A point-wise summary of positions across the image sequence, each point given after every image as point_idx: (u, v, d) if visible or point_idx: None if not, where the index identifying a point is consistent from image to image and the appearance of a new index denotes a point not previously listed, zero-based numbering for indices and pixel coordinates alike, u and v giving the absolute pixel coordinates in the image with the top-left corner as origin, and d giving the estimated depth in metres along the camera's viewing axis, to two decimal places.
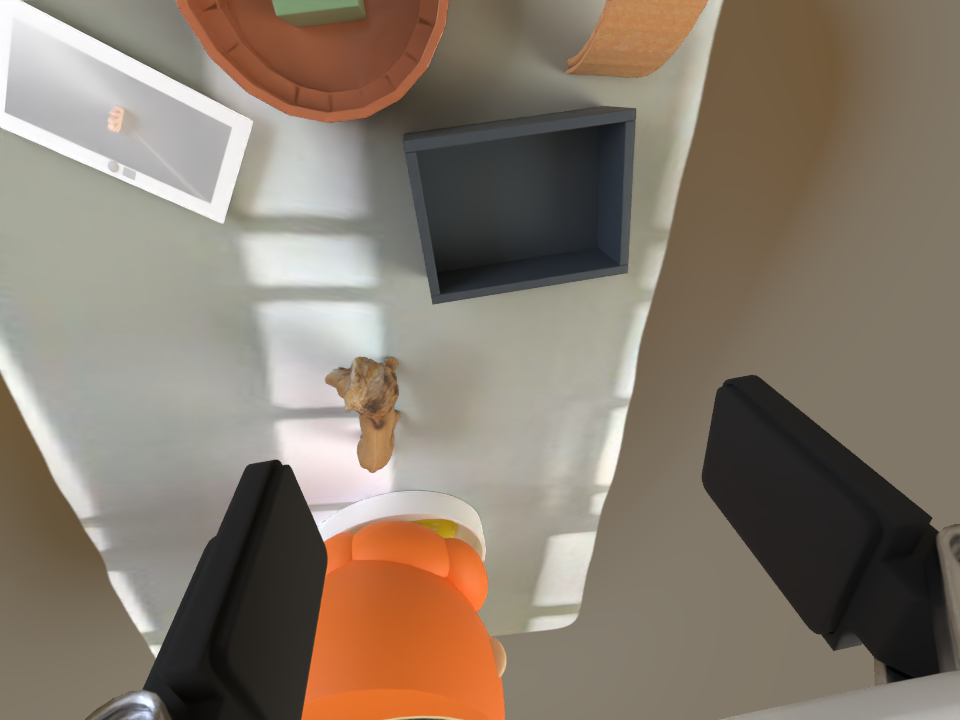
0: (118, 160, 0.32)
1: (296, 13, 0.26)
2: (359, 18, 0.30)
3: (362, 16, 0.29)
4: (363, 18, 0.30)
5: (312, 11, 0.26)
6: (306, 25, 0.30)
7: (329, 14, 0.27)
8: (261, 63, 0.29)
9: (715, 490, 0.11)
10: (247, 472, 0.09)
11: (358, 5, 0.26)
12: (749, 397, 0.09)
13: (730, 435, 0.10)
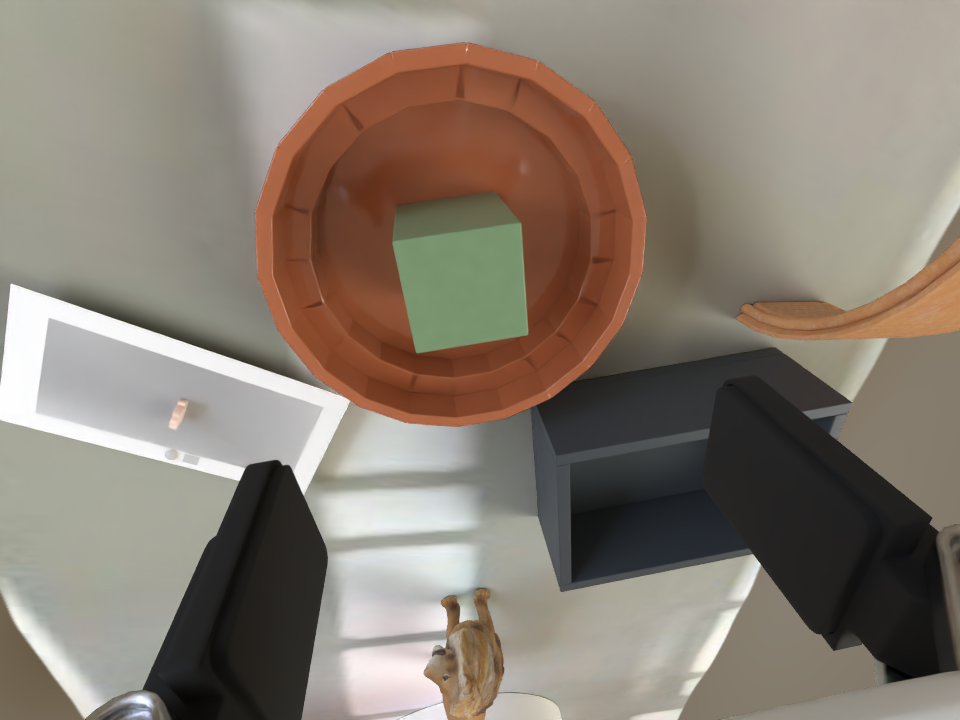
0: (178, 447, 0.25)
1: (443, 348, 0.19)
2: None
3: None
4: None
5: (464, 344, 0.19)
6: None
7: None
8: (372, 355, 0.23)
9: (715, 490, 0.11)
10: (247, 472, 0.09)
11: (526, 334, 0.19)
12: (749, 397, 0.09)
13: (730, 435, 0.10)
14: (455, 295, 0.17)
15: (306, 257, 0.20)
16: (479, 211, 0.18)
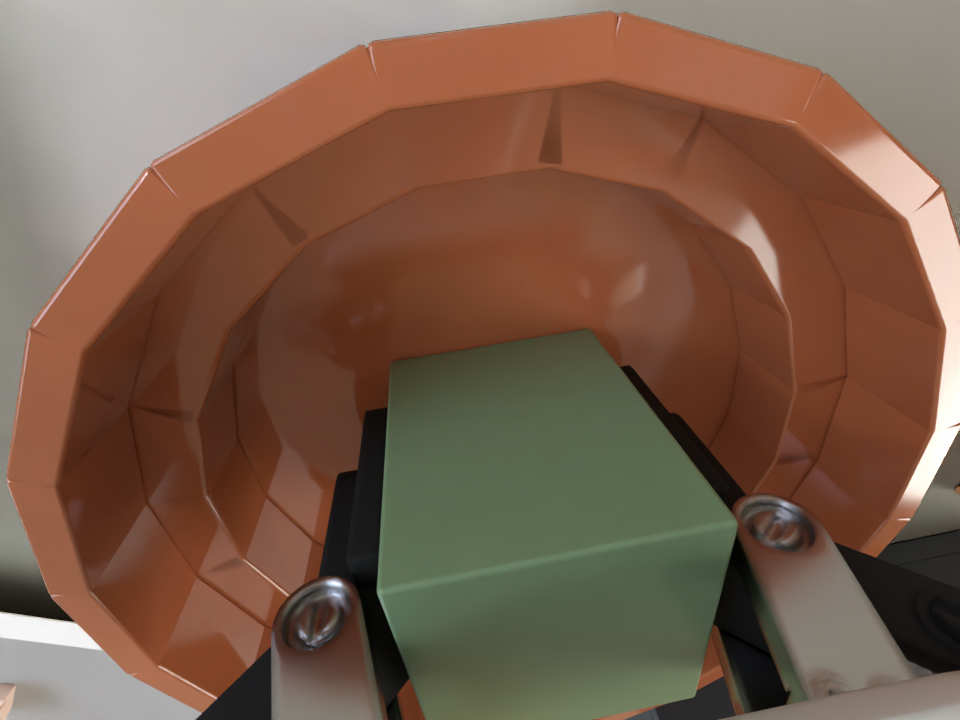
0: None
1: None
2: None
3: None
4: None
5: None
6: None
7: None
8: None
9: None
10: (368, 416, 0.10)
11: None
12: None
13: None
14: (540, 664, 0.07)
15: (197, 493, 0.09)
16: (586, 423, 0.08)
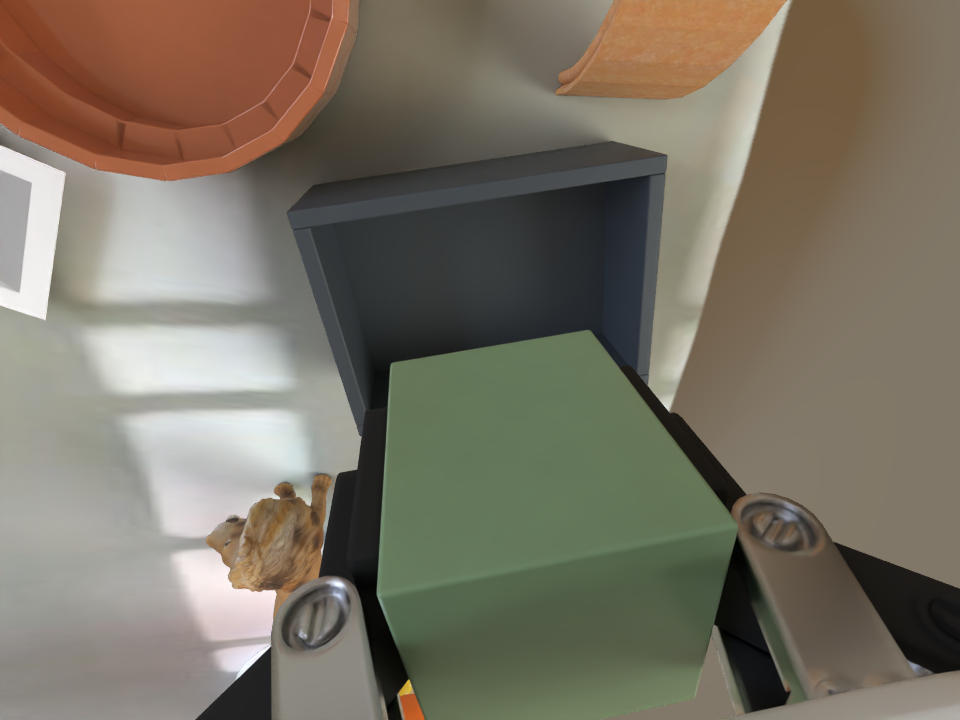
0: None
1: None
2: None
3: None
4: None
5: None
6: None
7: None
8: (52, 85, 0.18)
9: None
10: (368, 416, 0.10)
11: None
12: None
13: None
14: (540, 665, 0.07)
15: None
16: (586, 424, 0.08)
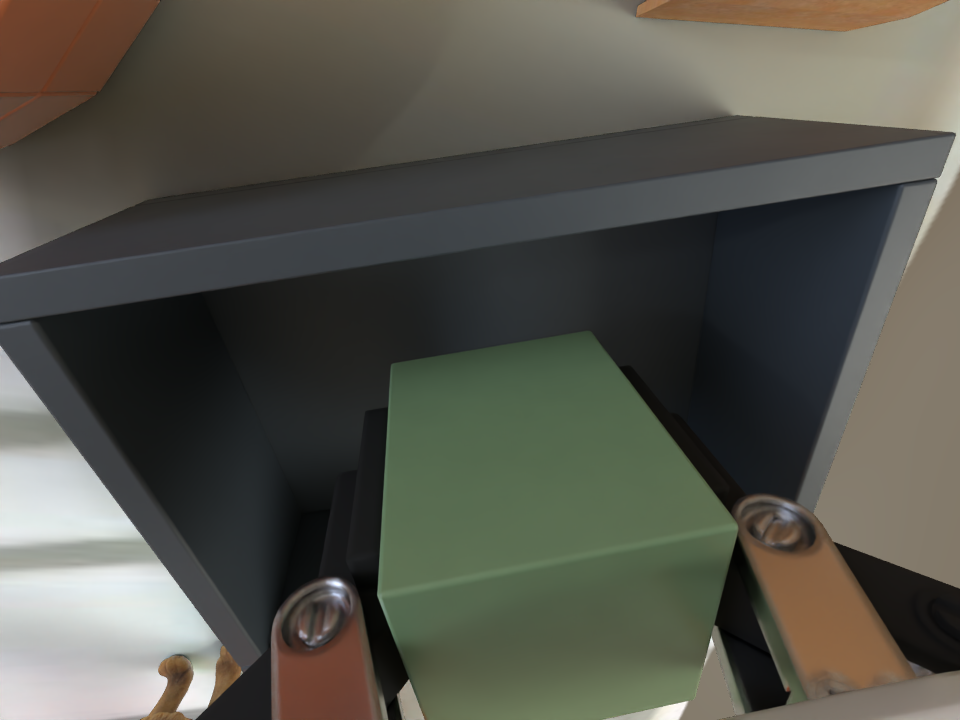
0: None
1: None
2: None
3: None
4: None
5: None
6: None
7: None
8: None
9: None
10: (368, 416, 0.10)
11: None
12: None
13: None
14: (540, 667, 0.07)
15: None
16: (586, 425, 0.08)
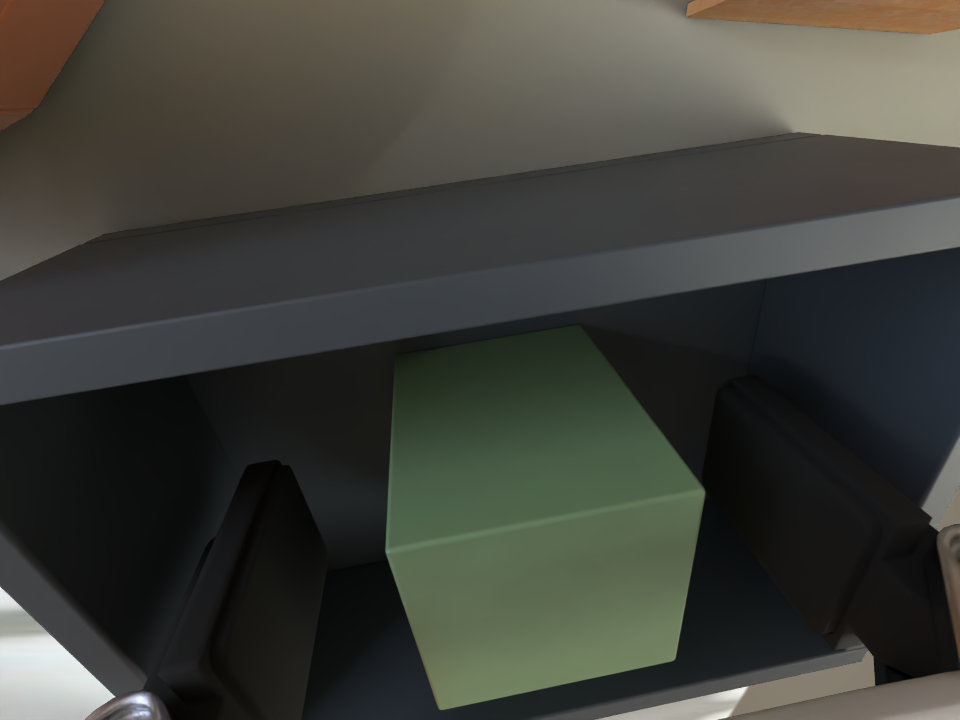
0: None
1: None
2: None
3: None
4: None
5: None
6: None
7: None
8: None
9: (715, 490, 0.11)
10: (247, 472, 0.09)
11: (671, 657, 0.09)
12: (749, 397, 0.09)
13: (730, 435, 0.10)
14: (530, 623, 0.08)
15: None
16: (574, 408, 0.09)
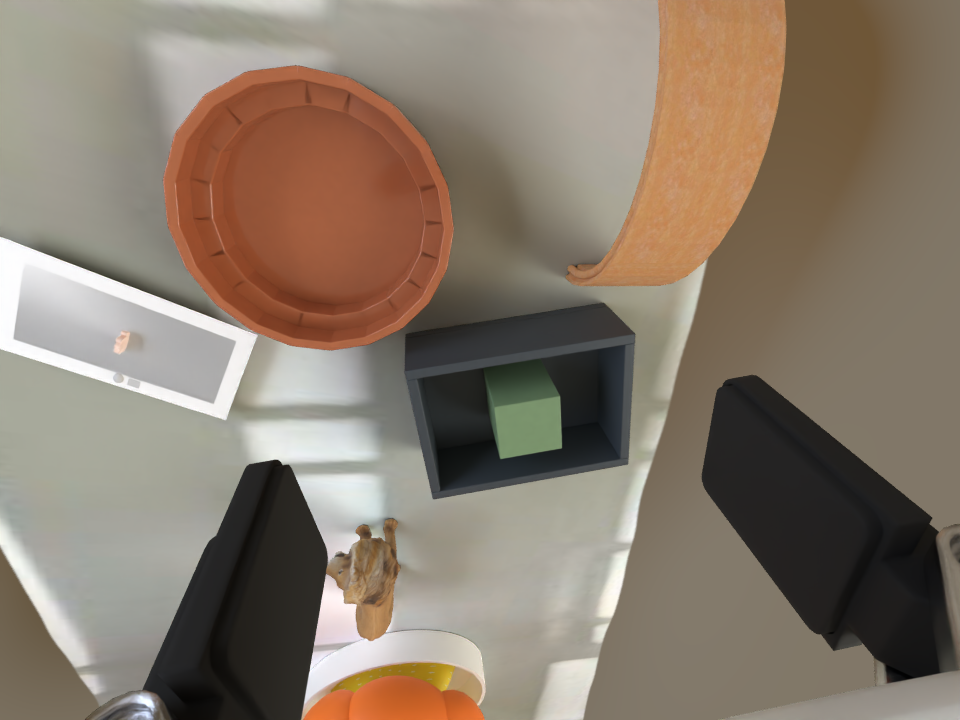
0: (124, 372, 0.32)
1: (514, 455, 0.34)
2: None
3: None
4: None
5: (526, 453, 0.34)
6: None
7: None
8: (266, 295, 0.30)
9: (715, 490, 0.11)
10: (247, 472, 0.09)
11: (561, 447, 0.34)
12: (749, 397, 0.09)
13: (730, 435, 0.10)
14: (523, 430, 0.33)
15: (209, 216, 0.27)
16: (535, 381, 0.34)
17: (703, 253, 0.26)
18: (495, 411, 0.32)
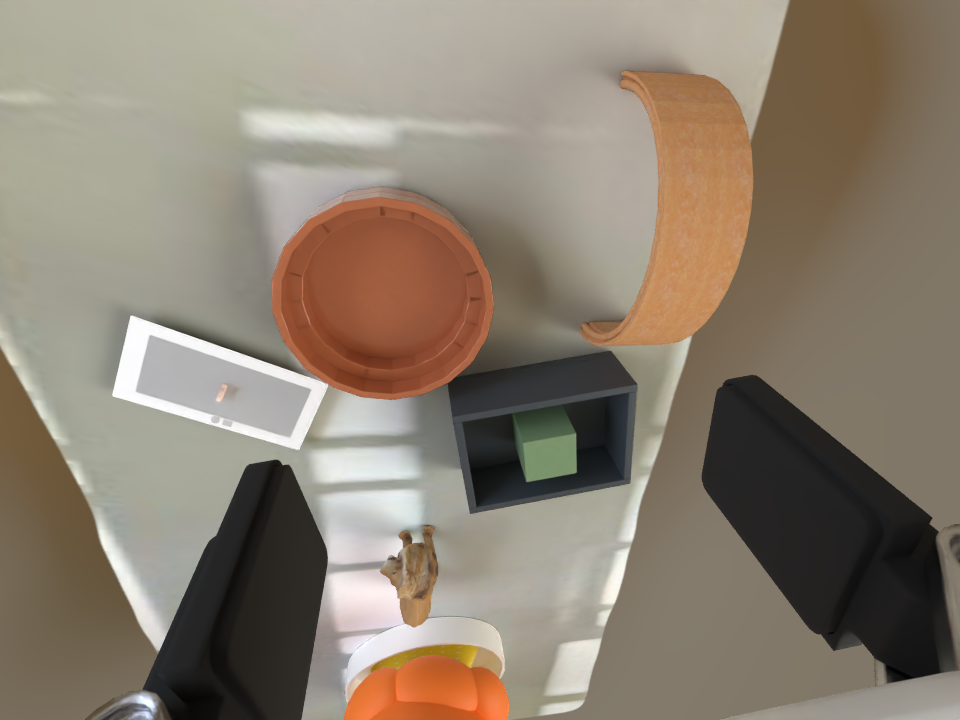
0: (220, 415, 0.40)
1: (538, 479, 0.41)
2: None
3: None
4: None
5: (547, 477, 0.41)
6: None
7: None
8: (340, 356, 0.37)
9: (716, 490, 0.11)
10: (247, 472, 0.09)
11: (575, 472, 0.42)
12: (749, 397, 0.09)
13: (730, 435, 0.10)
14: (546, 459, 0.40)
15: (300, 299, 0.34)
16: (554, 418, 0.41)
17: (691, 330, 0.34)
18: (523, 446, 0.39)
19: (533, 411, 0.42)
